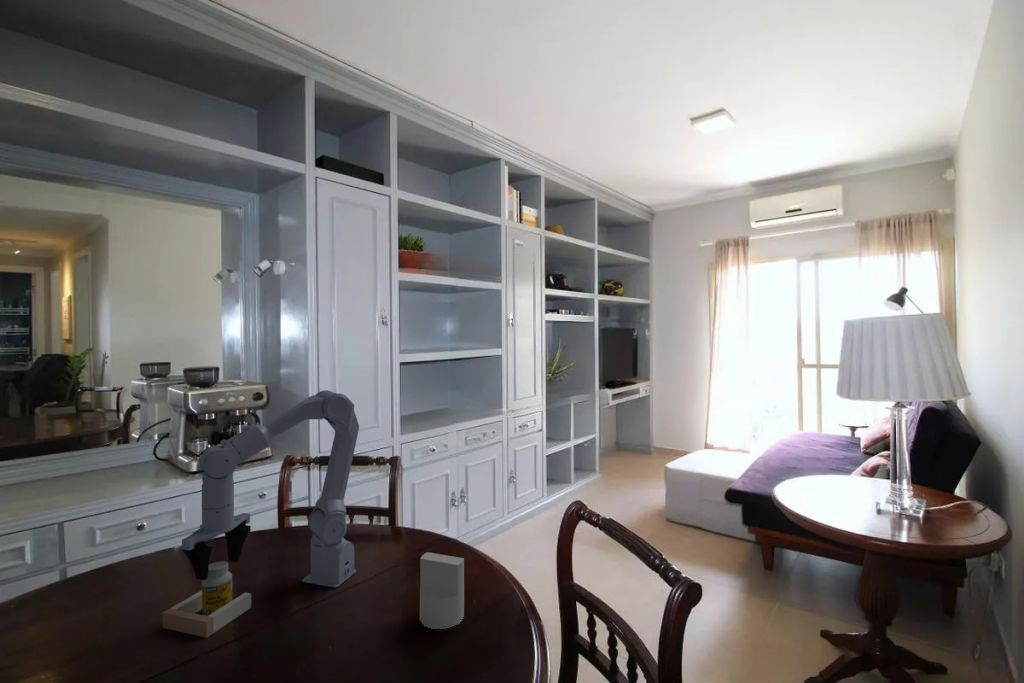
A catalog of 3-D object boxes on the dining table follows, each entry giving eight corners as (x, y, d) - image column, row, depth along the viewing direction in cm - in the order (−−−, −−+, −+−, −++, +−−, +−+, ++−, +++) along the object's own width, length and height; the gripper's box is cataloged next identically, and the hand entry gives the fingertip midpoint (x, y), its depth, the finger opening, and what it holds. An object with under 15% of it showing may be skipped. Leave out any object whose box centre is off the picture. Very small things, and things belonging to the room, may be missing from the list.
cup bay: (251, 607, 100) (251, 593, 100) (206, 637, 90) (206, 622, 90) (210, 599, 103) (210, 585, 103) (162, 627, 93) (162, 612, 93)
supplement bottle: (232, 601, 102) (232, 557, 102) (232, 614, 98) (232, 567, 98) (202, 608, 100) (202, 562, 100) (200, 621, 95) (200, 574, 95)
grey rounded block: (471, 609, 100) (471, 552, 100) (452, 634, 91) (452, 572, 91) (433, 601, 103) (433, 546, 103) (411, 624, 94) (411, 564, 94)
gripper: (232, 492, 107) (232, 552, 107) (169, 515, 93) (169, 584, 93) (257, 494, 105) (257, 556, 105) (197, 519, 91) (197, 589, 91)
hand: (218, 569), depth 99 cm, fingers open, 7 cm apart
